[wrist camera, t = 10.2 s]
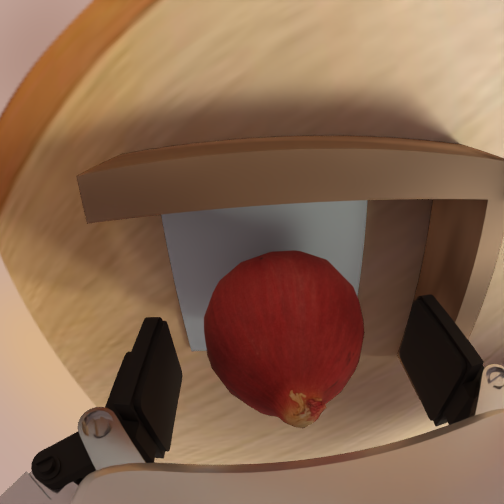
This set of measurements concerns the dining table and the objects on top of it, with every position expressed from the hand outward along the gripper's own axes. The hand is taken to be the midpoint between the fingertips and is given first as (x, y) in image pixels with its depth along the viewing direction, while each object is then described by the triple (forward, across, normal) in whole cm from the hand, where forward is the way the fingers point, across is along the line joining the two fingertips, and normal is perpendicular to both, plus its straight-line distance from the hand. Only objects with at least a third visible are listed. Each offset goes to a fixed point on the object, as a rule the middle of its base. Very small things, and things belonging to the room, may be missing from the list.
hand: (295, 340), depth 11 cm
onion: (+4, 0, 0) cm, 4 cm away
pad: (+4, +1, 0) cm, 4 cm away
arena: (+4, -1, 0) cm, 5 cm away
